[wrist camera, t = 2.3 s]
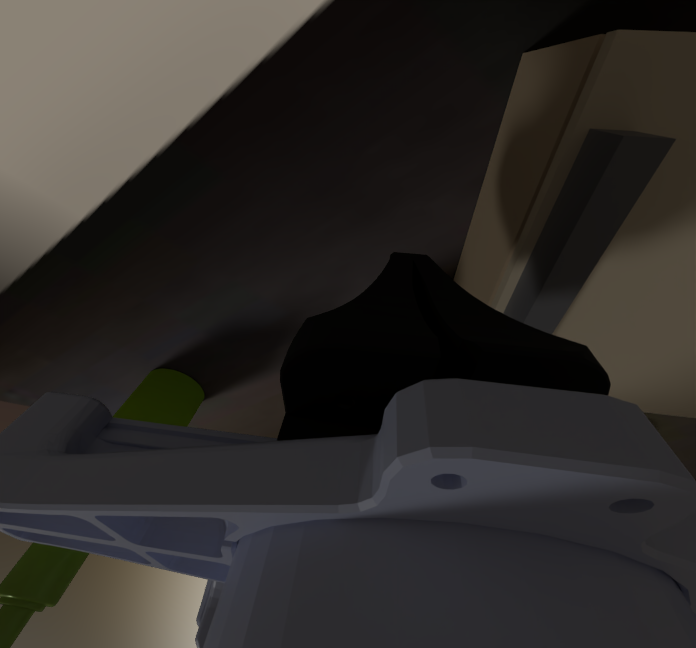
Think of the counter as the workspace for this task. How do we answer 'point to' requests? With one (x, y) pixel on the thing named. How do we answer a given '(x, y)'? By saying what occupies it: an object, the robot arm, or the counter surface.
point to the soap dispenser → (62, 564)
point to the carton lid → (621, 224)
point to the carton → (522, 158)
